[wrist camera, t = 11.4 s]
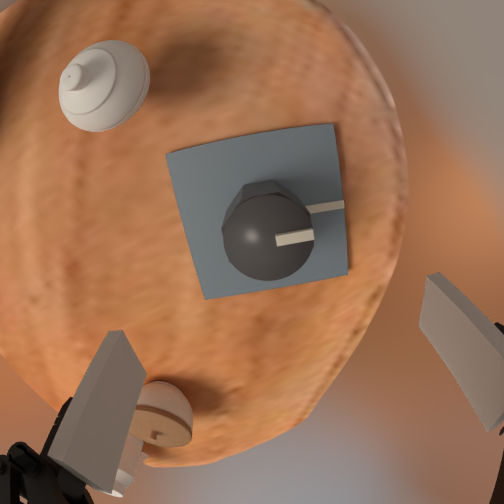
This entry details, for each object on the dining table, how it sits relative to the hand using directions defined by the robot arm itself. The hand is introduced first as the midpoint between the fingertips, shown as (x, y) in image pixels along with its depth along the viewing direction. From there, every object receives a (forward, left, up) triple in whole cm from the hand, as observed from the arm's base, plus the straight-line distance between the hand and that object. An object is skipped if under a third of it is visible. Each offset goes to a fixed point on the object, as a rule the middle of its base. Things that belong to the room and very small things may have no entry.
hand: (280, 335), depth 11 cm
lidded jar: (+25, -20, -19) cm, 37 cm away
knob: (0, 0, -18) cm, 18 cm away
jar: (+42, -39, -19) cm, 60 cm away
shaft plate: (0, 0, -19) cm, 19 cm away
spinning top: (-15, -10, -19) cm, 26 cm away
